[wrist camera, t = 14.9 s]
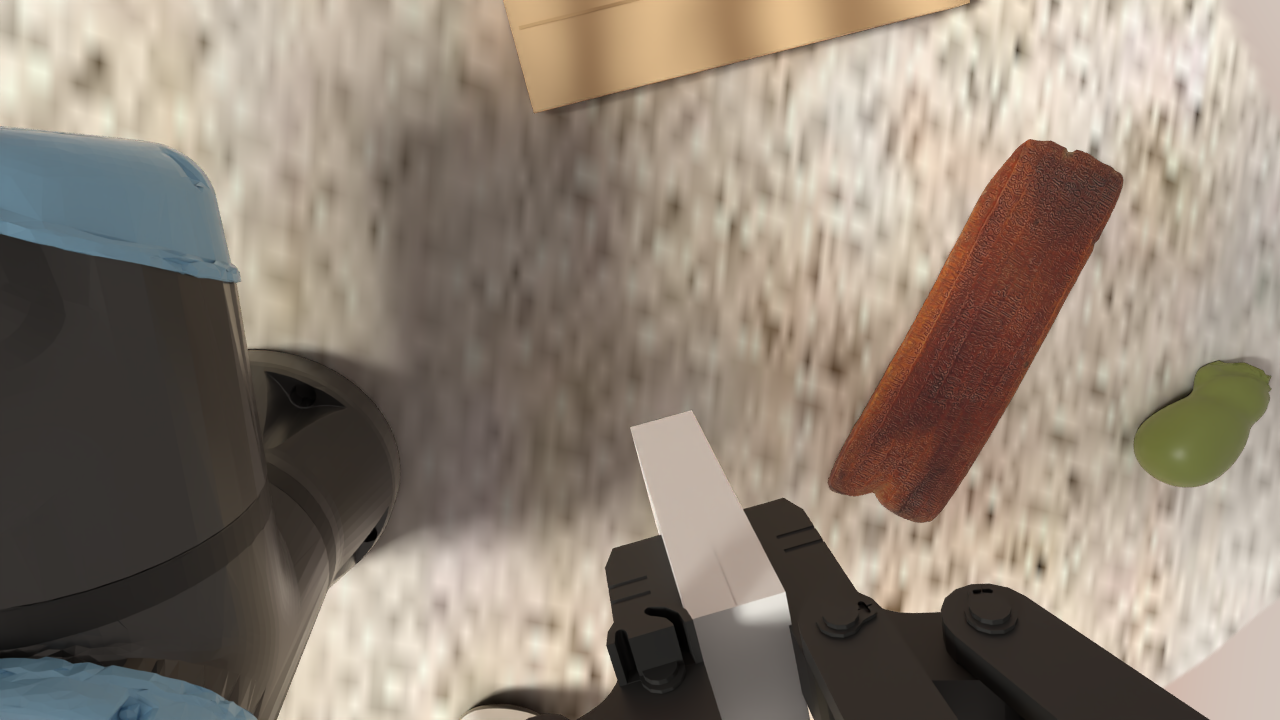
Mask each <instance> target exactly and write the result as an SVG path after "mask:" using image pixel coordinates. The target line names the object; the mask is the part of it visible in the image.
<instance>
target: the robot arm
mask: <svg viewBox="0 0 1280 720" xmlns="http://www.w3.org/2000/svg"><path fill="white" fill-rule="evenodd" d="M237 282H241V278H240V272H239V271H238V269H237V268H236V267H235V266H234V265H233V264H232V263H231V261H230V256H229V252H228V247H227V243H226V239H225V234H224V230H223V225H222V221H221V217H220V212H219V208H218V203H217V199H216V195H215V191H214V189H213V186H212V184H211V182H210V180H209V179H208V177H207V176H206V174H205V173H204V171H203V170H202V169H201V168H200V167H199V166H198V165H197V164H196V163H195V162H194V161H193V160H191V159H190V158H189V157H187V156H186V155H184V154H183V153H181V152H179V151H177V150H175V149H173V148H171V147H168V146H165V145H162V144H158V143H153V142H147V141H141V140H132V139H123V138H113V137H104V136H94V135H84V134H75V133H65V132H55V131H45V130H35V129H24V128H13V127H2V126H0V720H277V717H278V715H279V712H280V710H281V707H282V705H283V702H284V700H285V697H286V695H287V692H288V689H289V687H290V684H291V682H292V679H293V677H294V674H295V672H296V669H297V667H298V664H299V662H300V659H301V656H302V654H303V651H304V649H305V646H306V644H307V641H308V639H309V636H310V634H311V631H312V629H313V626H314V624H315V621H316V618H317V616H318V613H319V611H320V608H321V606H322V603H323V601H324V598H325V596H326V593H327V591H328V589H329V588H330V587H331V586H332V585H333V584H335V583H336V582H337V581H338V580H339V579H340V578H341V577H342V576H343V575H345V574H346V573H347V572H348V571H349V570H350V569H351V568H352V567H353V566H354V565H355V564H357V563H358V562H359V561H360V560H361V559H362V558H363V557H364V556H365V555H366V554H367V553H368V552H369V551H370V550H371V548H372V547H373V546H374V545H375V543H376V542H377V540H378V539H379V537H380V536H381V534H382V532H383V531H384V529H385V527H386V525H387V523H388V520H389V518H390V515H391V512H392V509H393V506H394V503H395V500H396V497H397V493H398V489H399V483H400V459H399V453H398V449H397V445H396V442H395V439H394V436H393V434H392V431H391V429H390V427H389V425H388V423H387V421H386V420H385V418H384V417H383V415H382V413H381V412H380V411H379V409H378V408H377V407H376V405H375V404H374V403H373V402H372V401H371V400H370V399H369V397H368V396H367V395H366V394H365V393H364V392H362V391H361V390H360V389H359V388H358V387H357V386H356V385H354V384H353V383H352V382H350V381H349V380H348V379H346V378H345V377H343V376H342V375H340V374H338V373H337V372H335V371H333V370H331V369H330V368H328V367H326V366H323V365H321V364H319V363H317V362H314V361H311V360H309V359H306V358H303V357H299V356H296V355H292V354H288V353H282V352H276V351H267V350H247V344H246V338H245V332H244V326H243V320H242V314H241V308H240V302H239V296H238V290H237V284H236V283H237ZM630 429H631V433H632V436H633V440H634V444H635V448H636V451H637V455H638V459H639V463H640V466H641V470H642V474H643V478H644V481H645V485H646V489H647V493H648V496H649V500H650V504H651V508H652V511H653V515H654V519H655V523H656V526H657V529H658V533H659V535H658V536H655V537H651V538H648V539H644V540H641V541H637V542H634V543H630V544H627V545H623V546H620V547H616V548H613V549H612V552H611V554H610V557H609V559H608V562H607V564H606V567H605V570H606V576H607V583H608V588H609V595H610V601H611V608H612V614H613V620H614V623H613V625H612V626H611V628H610V630H609V631H608V635H607V644H606V646H607V649H608V652H609V655H610V658H611V661H612V664H613V668H614V671H615V674H616V677H617V683H616V685H615V686H614V688H613V690H612V692H611V693H610V694H609V695H608V696H607V698H606V699H605V700H604V701H603V702H602V703H601V704H600V705H598V706H597V707H596V708H594V709H593V710H592V711H590V712H589V713H587V714H585V715H584V716H582V717H580V718H579V719H577V720H810V717H809V712H808V707H809V710H810V712H811V714H812V716H813V718H814V720H1209V719H1208V718H1206V717H1205V716H1203V715H1202V714H1200V713H1199V712H1197V711H1196V710H1194V709H1193V708H1191V707H1190V706H1188V705H1187V704H1185V703H1184V702H1182V701H1181V700H1179V699H1178V698H1176V697H1175V696H1173V695H1172V694H1170V693H1169V692H1167V691H1166V690H1164V689H1163V688H1161V687H1160V686H1158V685H1157V684H1155V683H1154V682H1153V681H1151V680H1150V679H1148V678H1147V677H1145V676H1144V675H1142V674H1141V673H1139V672H1138V671H1136V670H1135V669H1133V668H1132V667H1130V666H1129V665H1127V664H1126V663H1124V662H1123V661H1121V660H1120V659H1118V658H1117V657H1115V656H1114V655H1112V654H1111V653H1109V652H1108V651H1106V650H1105V649H1103V648H1102V647H1100V646H1099V645H1097V644H1096V643H1094V642H1093V641H1091V640H1090V639H1088V638H1087V637H1085V636H1084V635H1082V634H1081V633H1080V632H1078V631H1077V630H1075V629H1074V628H1072V627H1071V626H1069V625H1068V624H1066V623H1065V622H1063V621H1062V620H1060V619H1059V618H1057V617H1056V616H1054V615H1053V614H1051V613H1050V612H1048V611H1047V610H1045V609H1044V608H1042V607H1041V606H1039V605H1038V604H1036V603H1035V602H1033V601H1032V600H1030V599H1029V598H1027V597H1026V596H1024V595H1022V594H1020V593H1018V592H1016V591H1014V590H1012V589H1010V588H1008V587H1003V586H998V585H993V584H971V585H968V586H965V587H962V588H959V589H956V590H954V591H953V592H952V593H951V594H950V595H948V596H947V597H946V598H945V600H944V603H943V605H942V608H941V612H937V613H898V612H894V611H889V610H885V609H882V608H881V607H880V606H879V605H878V604H877V603H876V602H875V601H874V600H873V599H872V598H870V597H868V596H865V595H863V594H861V593H858V592H857V590H856V589H855V587H854V586H853V584H852V583H851V581H850V580H849V578H848V577H847V575H846V574H845V572H844V571H843V569H842V568H841V566H840V565H839V563H838V562H837V560H836V559H835V557H834V556H833V554H832V553H831V551H830V550H829V548H828V547H827V545H826V544H825V542H823V540H822V537H821V536H820V534H819V533H818V531H817V530H816V528H814V525H813V524H812V522H811V521H810V519H809V518H808V516H807V515H806V513H805V512H804V510H803V509H802V508H800V507H798V506H797V505H795V504H793V503H791V502H790V501H788V500H786V499H785V498H781V499H778V500H774V501H771V502H767V503H764V504H760V505H757V506H753V507H750V508H746V509H743V508H742V507H741V505H740V503H739V501H738V499H737V497H736V495H735V493H734V491H733V489H732V487H731V485H730V483H729V481H728V479H727V477H726V475H725V474H724V472H723V470H722V468H721V466H720V464H719V462H718V460H717V458H716V456H715V454H714V452H713V450H712V448H711V446H710V444H709V442H708V440H707V439H706V437H705V435H704V433H703V431H702V429H701V427H700V425H699V423H698V421H697V419H696V417H695V415H694V413H693V411H692V410H690V411H687V412H683V413H679V414H676V415H672V416H668V417H665V418H661V419H658V420H654V421H650V422H647V423H643V424H640V425H636V426H632V427H630ZM807 705H808V707H807ZM526 720H569V719H568V718H566V717H564V716H562V715H558V714H546V713H545V714H542V715H538V716H534V717H530V718H528V719H526Z"/></svg>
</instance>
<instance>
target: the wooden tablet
mask: <svg viewBox="0 0 1280 720" xmlns="http://www.w3.org/2000/svg"><path fill="white" fill-rule="evenodd" d="M1122 185H1123V177H1122V175H1121V174H1120V173H1118V172H1116V171H1115V170H1114V169H1113V168H1112V167H1110V166H1108V165H1106V164H1103V163H1101V162H1100V161H1098V160H1097V159H1095V158H1094V157H1093V156H1091V155H1090V154H1088V153H1084V152H1083V151H1080V150H1076V151H1074V152H1068V151H1067V149H1066V148H1065V147H1063V146H1060V145H1058V144H1056V143H1054V142H1052V141H1037V140H1032V139H1029V140H1027V141H1026V142H1024V143H1023V144H1022V145H1020V146H1019V147H1018V148H1017V149H1016V150H1015V151H1014V153H1013V154H1012V155H1011V157H1010V158H1009V159H1008V160H1007V161H1006V162H1005V163H1004V165H1003V166H1002V167H1001V168H1000V169H999V170H998V172H997V173H996V174H995V176H994V177H993V178H992V179H991V181H990V182H989V184H988V185H987V186H986V188H985V190H984V191H983V193H982V195H981V196H980V198H979V200H978V202H977V204H976V206H975V207H974V209H973V211H972V213H971V215H970V217H969V219H968V221H967V223H966V225H965V227H964V229H963V231H962V233H961V235H960V236H959V238H958V240H957V242H956V244H955V246H954V248H953V249H952V251H951V253H950V255H949V257H948V259H947V261H946V262H945V264H944V267H943V268H942V270H941V272H940V274H939V276H938V279H937V281H936V282H935V284H934V286H933V288H932V290H931V291H930V293H929V296H928V298H927V299H926V301H925V303H924V304H923V306H922V308H921V310H920V312H919V314H918V315H917V317H916V319H915V321H914V323H913V324H912V326H911V328H910V330H909V331H908V333H907V335H906V337H905V339H904V341H903V343H902V344H901V346H900V348H899V349H898V351H897V353H896V355H895V356H894V358H893V359H892V361H891V363H890V364H889V366H888V368H887V370H886V372H885V374H884V376H883V378H882V379H881V381H880V383H879V385H878V387H877V388H876V390H875V392H874V394H873V395H872V397H871V399H870V401H869V403H868V404H867V406H866V407H865V409H864V411H863V412H862V414H861V416H860V418H859V419H858V421H857V422H856V424H855V425H854V427H853V429H852V431H851V433H850V435H849V437H848V438H847V440H846V442H845V444H844V445H843V447H842V449H841V451H840V454H839V456H838V458H837V460H836V462H835V464H834V467H833V469H832V471H831V475H830V477H829V480H828V485H829V488H830V489H831V490H832V491H834V492H836V493H840V494H844V495H849V496H860V495H864V494H868V493H872V492H873V493H875V495H876V497H877V498H878V500H879V502H880V503H881V504H882V505H883V506H884V507H885V508H887V509H888V510H890V511H891V512H893V513H895V514H896V515H898V516H900V517H903V518H904V519H907V520H911V521H913V522H919V523H923V522H927V521H932V520H933V519H934V518H935V517H937V515H938V514H939V513H940V512H941V511H942V509H943V508H944V507H945V505H946V504H947V502H948V501H949V499H950V498H951V497H952V495H953V494H954V492H955V491H956V489H957V488H958V486H959V485H960V483H961V482H962V480H963V478H964V477H965V476H966V474H967V473H968V471H969V469H970V467H971V466H972V464H973V463H974V461H975V459H976V458H977V456H978V454H979V453H980V451H981V449H982V448H983V446H984V445H985V443H986V442H987V440H988V438H989V436H990V435H991V433H992V431H993V430H994V428H995V426H996V424H997V423H998V421H999V419H1000V418H1001V416H1002V415H1003V413H1004V411H1005V409H1006V407H1007V406H1008V404H1009V402H1010V401H1011V399H1012V397H1013V396H1014V394H1015V392H1016V390H1017V389H1018V387H1019V385H1020V383H1021V381H1022V379H1023V378H1024V376H1025V374H1026V372H1027V370H1028V368H1029V367H1030V365H1031V363H1032V361H1033V359H1034V357H1035V355H1036V354H1037V352H1038V350H1039V348H1040V346H1041V344H1042V343H1043V341H1044V339H1045V337H1046V336H1047V334H1048V332H1049V330H1050V328H1051V326H1052V324H1053V323H1054V321H1055V319H1056V317H1057V315H1058V313H1059V311H1060V309H1061V307H1062V306H1063V304H1064V302H1065V300H1066V298H1067V296H1068V294H1069V293H1070V291H1071V289H1072V287H1073V286H1074V284H1075V282H1076V280H1077V278H1078V276H1079V274H1080V272H1081V270H1082V269H1083V267H1084V266H1085V264H1086V262H1087V260H1088V258H1089V256H1090V255H1091V253H1092V251H1093V246H1094V243H1095V242H1096V241H1097V240H1098V239H1099V237H1100V235H1101V233H1102V231H1103V229H1104V227H1105V225H1106V223H1107V222H1108V220H1109V218H1110V215H1111V213H1112V211H1113V209H1114V207H1115V205H1116V202H1117V200H1118V198H1119V195H1120V192H1121V189H1122Z"/></svg>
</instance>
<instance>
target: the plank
mask: <svg viewBox="0 0 1280 720" xmlns="http://www.w3.org/2000/svg"><path fill="white" fill-rule="evenodd" d="M503 2H504V5H505V9H506V13H507V16H508V20H509V24H510V27H511V31H512V35H513V38H514V42H515V46H516V49H517V53H518V57H519V60H520V64H521V68H522V71H523V75H524V79H525V82H526V86H527V90H528V93H529V97H530V101H531V104H532V108H533V112H534V113H538V112H542V111H546V110H550V109H554V108H558V107H562V106H566V105H570V104H574V103H578V102H582V101H586V100H590V99H593V98H597V97H601V96H605V95H609V94H613V93H617V92H621V91H625V90H629V89H633V88H637V87H641V86H645V85H649V84H653V83H657V82H661V81H665V80H669V79H673V78H677V77H681V76H685V75H689V74H693V73H697V72H701V71H705V70H709V69H713V68H717V67H721V66H725V65H729V64H733V63H737V62H740V61H744V60H748V59H752V58H756V57H760V56H764V55H768V54H772V53H776V52H780V51H784V50H788V49H792V48H796V47H800V46H804V45H808V44H812V43H816V42H820V41H824V40H828V39H832V38H836V37H840V36H844V35H848V34H852V33H856V32H860V31H864V30H868V29H872V28H876V27H880V26H884V25H887V24H891V23H895V22H899V21H903V20H907V19H911V18H915V17H919V16H923V15H927V14H931V13H935V12H939V11H943V10H947V9H951V8H955V7H959V6H962V5H964V4H967V3H970V0H503Z"/></svg>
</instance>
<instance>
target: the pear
mask: <svg viewBox="0 0 1280 720" xmlns="http://www.w3.org/2000/svg"><path fill="white" fill-rule="evenodd" d="M1270 378H1271V376H1269V375H1266V374H1265V373H1264V371H1263V370H1261V369H1259V368H1256V367H1254V366H1251V365H1249V364H1247V363H1224V362H1221V361H1216V362H1212V363H1209V364H1207V365H1206V366H1203V367H1202V368H1200V369H1199V370H1198V372H1197V373H1196V375H1195V379H1194V387H1193V391H1192V393H1191V394H1190V395H1188V396H1187V397H1186V398H1184V399H1182V400H1179V401H1177V402H1175V403H1173V404H1171V405H1169V406H1167V407H1165V408H1163V409H1161V410H1160V411H1158V412H1156V413H1155V414H1153V415H1152V416H1151V417H1149V418H1148V419H1147V420H1146V421H1145V422H1144V423H1143V424H1142V425H1141V426H1140V427H1139V429H1138V431H1137V433H1136V435H1135V438H1134V452H1135V456H1136V458H1137V460H1138V462H1139V464H1140V465H1141V466H1142V467H1143V469H1144V470H1145V471H1146V472H1148V473H1149V474H1150V475H1151V476H1153V477H1154V478H1156V479H1158V480H1159V481H1162V482H1164V483H1166V484H1169V485H1173V486H1177V487H1197V486H1201V485H1205V484H1207V483H1209V482H1212V481H1213V480H1215V479H1217V478H1218V477H1220V476H1221V475H1222V474H1223V473H1225V472H1226V471H1227V470H1228V469H1229V468H1230V467H1231V466H1232V465H1233V464H1234V462H1235V461H1236V460H1237V458H1238V457H1239V456H1240V454H1241V452H1242V451H1243V449H1244V447H1245V445H1246V442H1247V439H1248V436H1249V432H1250V429H1251V427H1252V426H1253V424H1254V423H1255V422H1257V421H1258V420H1259V419H1260V418H1261V417H1262V416H1263V414H1264V413H1265V411H1266V409H1267V406H1268V403H1269V400H1270V395H1269V393H1268V392H1269V391H1270V390H1271V388H1269V384H1268V383H1269V381H1270Z"/></svg>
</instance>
